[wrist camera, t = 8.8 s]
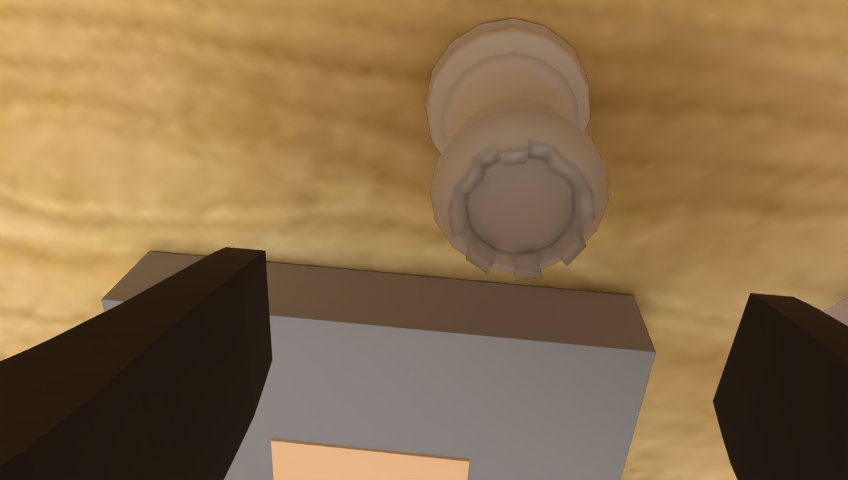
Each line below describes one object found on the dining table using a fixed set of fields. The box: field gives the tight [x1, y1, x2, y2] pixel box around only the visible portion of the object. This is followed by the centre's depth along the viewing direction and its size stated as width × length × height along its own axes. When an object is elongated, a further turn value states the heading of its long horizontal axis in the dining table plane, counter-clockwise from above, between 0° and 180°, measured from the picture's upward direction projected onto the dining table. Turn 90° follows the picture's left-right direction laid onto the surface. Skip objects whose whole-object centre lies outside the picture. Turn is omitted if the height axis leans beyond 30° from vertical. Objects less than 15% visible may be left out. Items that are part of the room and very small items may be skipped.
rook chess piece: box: [426, 19, 608, 281], centre depth 15 cm, size 4×4×8 cm
